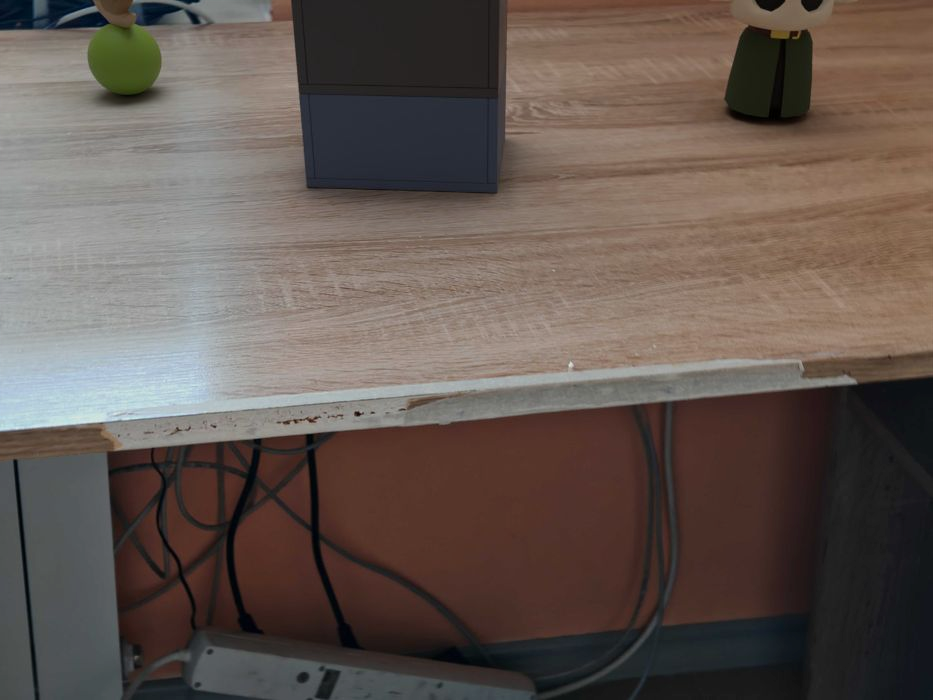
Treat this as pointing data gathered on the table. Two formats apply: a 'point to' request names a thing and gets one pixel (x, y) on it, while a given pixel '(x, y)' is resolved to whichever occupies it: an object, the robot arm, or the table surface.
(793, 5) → the green robed panda doll
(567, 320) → the table surface
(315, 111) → the box
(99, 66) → the figurine on green ball
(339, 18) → the box
